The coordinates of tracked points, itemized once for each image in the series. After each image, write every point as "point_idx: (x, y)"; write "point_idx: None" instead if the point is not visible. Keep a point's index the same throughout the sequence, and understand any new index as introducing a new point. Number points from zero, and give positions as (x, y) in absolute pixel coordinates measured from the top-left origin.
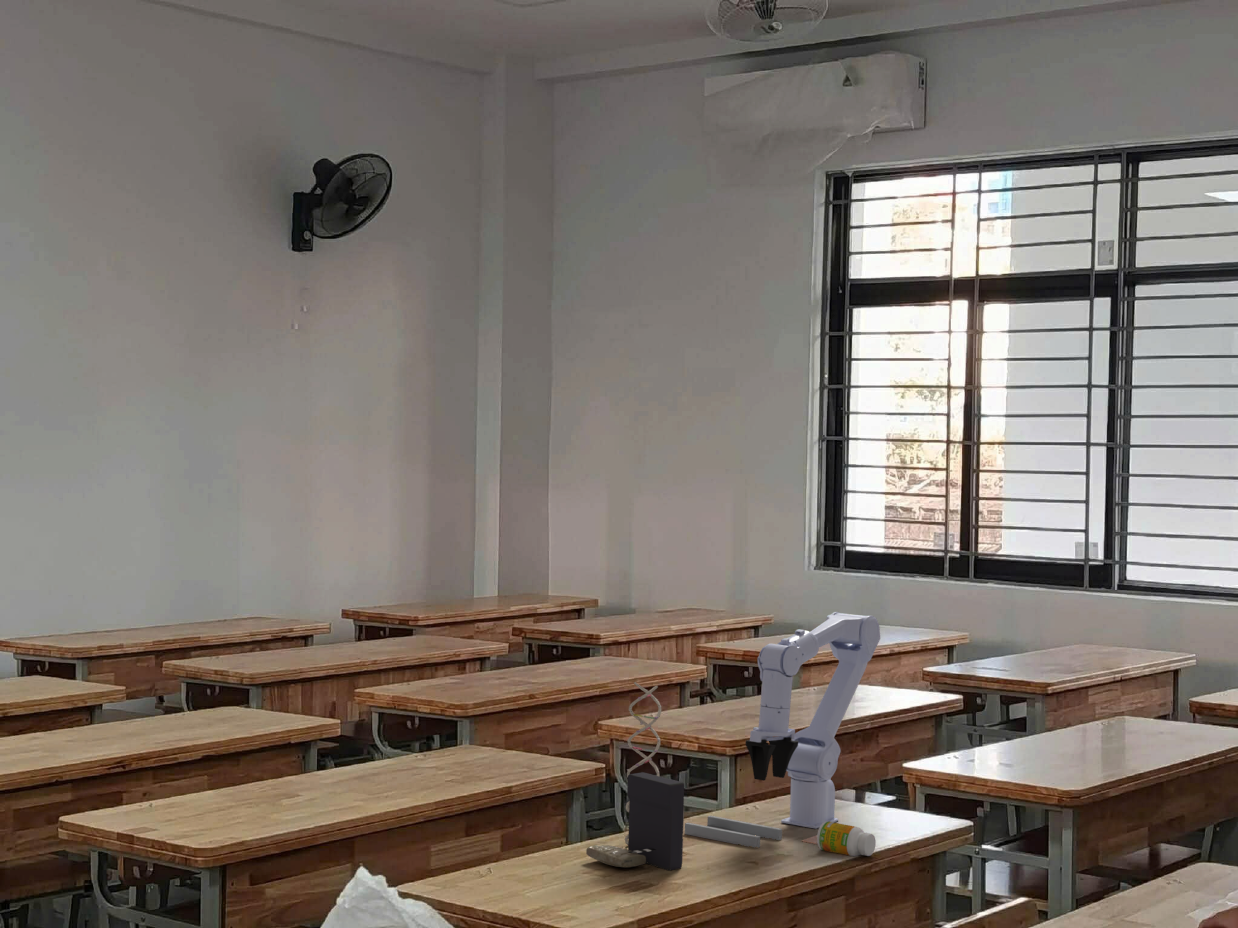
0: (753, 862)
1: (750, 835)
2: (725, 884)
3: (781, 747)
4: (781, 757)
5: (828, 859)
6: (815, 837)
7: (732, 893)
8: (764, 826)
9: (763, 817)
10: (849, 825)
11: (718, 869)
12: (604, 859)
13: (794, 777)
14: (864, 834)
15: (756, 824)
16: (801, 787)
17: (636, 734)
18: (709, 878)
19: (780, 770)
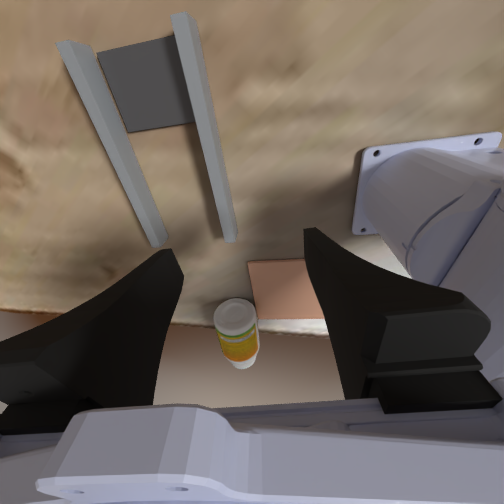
0: (109, 272)
1: (149, 232)
2: (32, 296)
3: (345, 346)
4: (326, 305)
5: (206, 316)
6: (281, 267)
7: (29, 313)
8: (222, 210)
9: (404, 62)
10: (239, 355)
11: (46, 263)
12: None
13: (424, 230)
14: (235, 364)
15: (220, 188)
16: (396, 242)
17: None
18: (20, 276)
19: (310, 267)
